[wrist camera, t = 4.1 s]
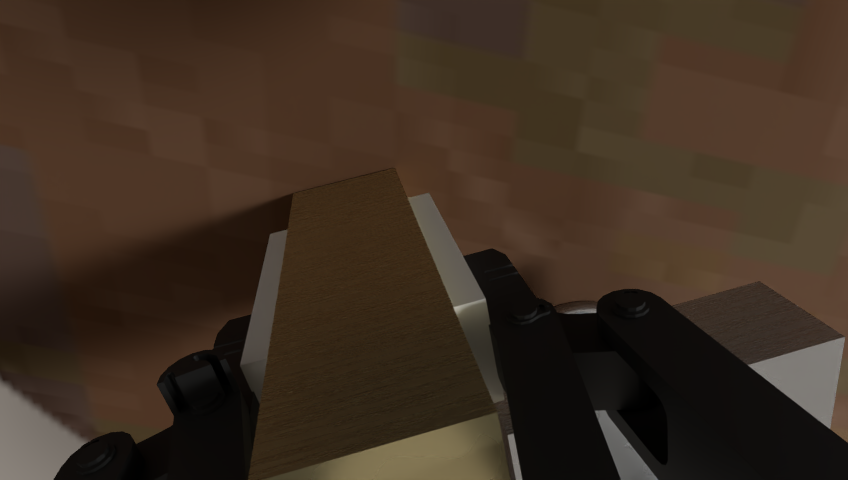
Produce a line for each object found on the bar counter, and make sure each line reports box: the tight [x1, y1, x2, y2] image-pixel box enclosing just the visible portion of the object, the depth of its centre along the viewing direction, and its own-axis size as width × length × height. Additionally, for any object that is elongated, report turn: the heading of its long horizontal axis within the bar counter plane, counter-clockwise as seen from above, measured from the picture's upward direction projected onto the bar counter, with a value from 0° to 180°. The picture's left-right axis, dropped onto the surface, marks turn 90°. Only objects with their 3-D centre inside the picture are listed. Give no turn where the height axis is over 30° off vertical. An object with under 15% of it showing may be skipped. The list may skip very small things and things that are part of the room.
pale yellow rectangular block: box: [248, 168, 511, 480], centre depth 13 cm, size 4×4×12 cm
